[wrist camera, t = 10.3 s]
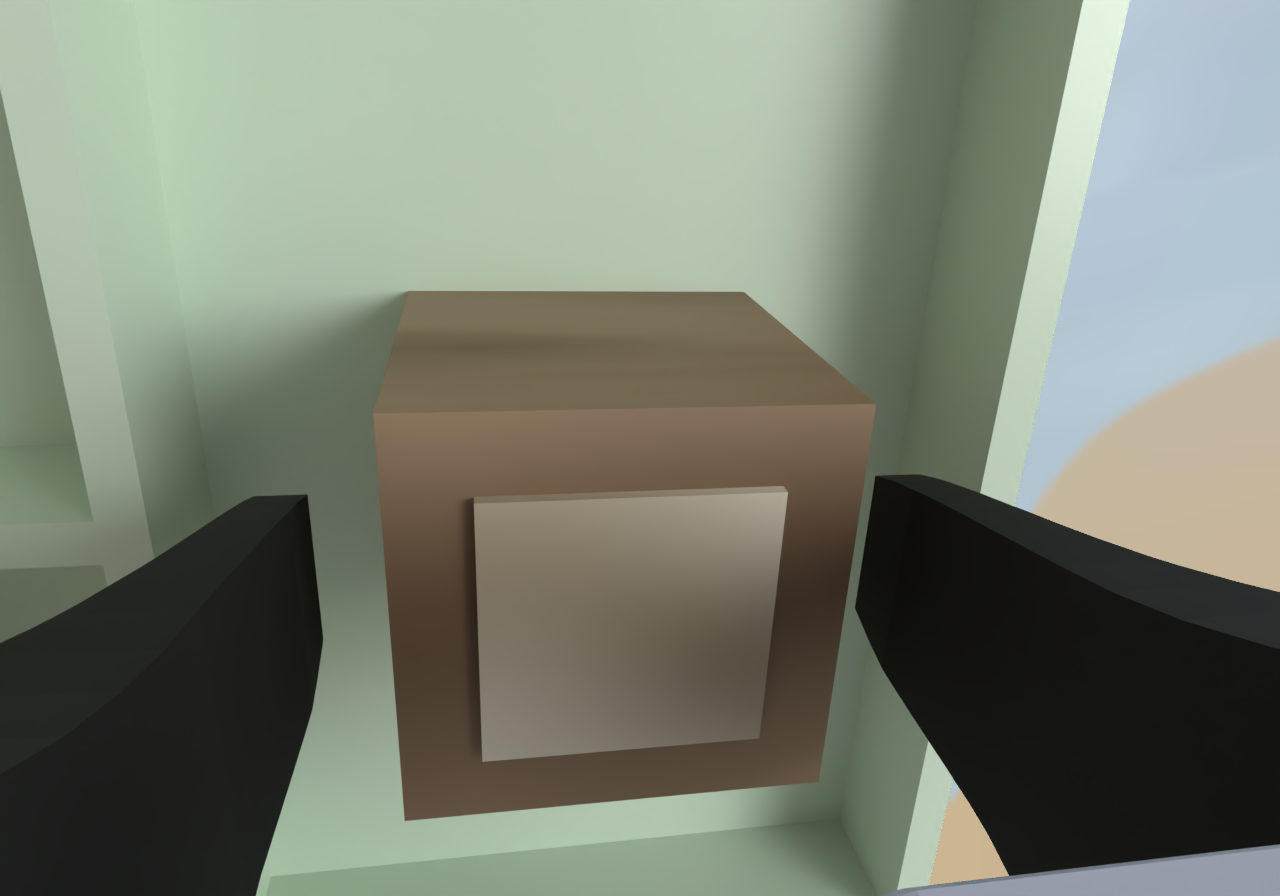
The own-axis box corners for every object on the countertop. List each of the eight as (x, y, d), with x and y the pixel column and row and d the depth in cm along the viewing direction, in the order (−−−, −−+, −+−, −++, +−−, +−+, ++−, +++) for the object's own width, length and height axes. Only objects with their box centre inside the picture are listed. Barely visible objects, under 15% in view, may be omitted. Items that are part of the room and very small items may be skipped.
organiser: (853, 819, 19) (915, 943, 17) (-486, 956, 15) (-695, 1150, 13) (1029, -178, 12) (1185, -246, 10) (-1350, -421, 8) (-2241, -656, 6)
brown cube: (719, 574, 16) (822, 790, 11) (425, 590, 15) (403, 830, 10) (743, 292, 14) (881, 408, 9) (408, 290, 13) (371, 418, 8)
